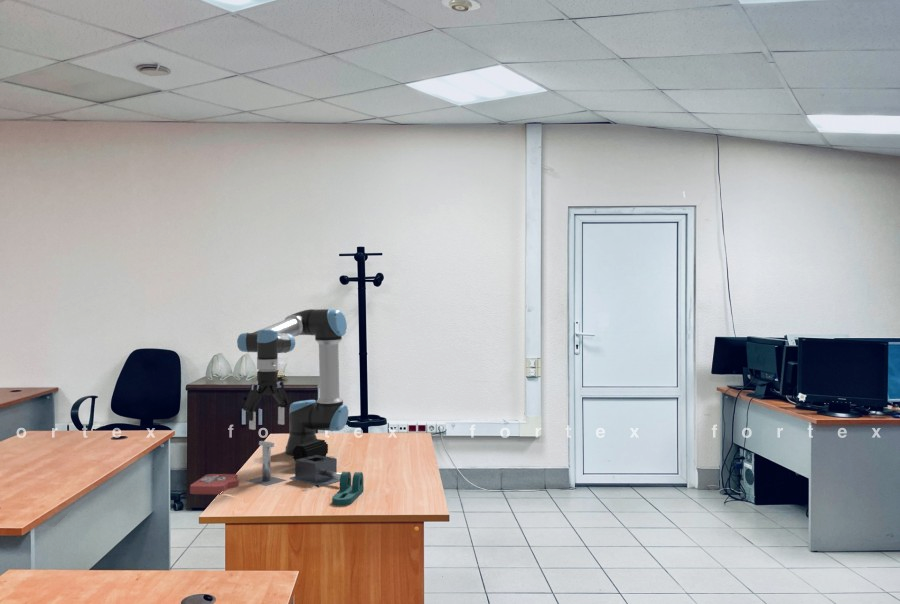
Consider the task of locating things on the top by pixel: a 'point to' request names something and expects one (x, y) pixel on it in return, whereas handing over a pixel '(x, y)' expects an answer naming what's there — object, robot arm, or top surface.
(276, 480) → the mat
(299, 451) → the security camera
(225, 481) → the plaque
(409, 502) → the top surface
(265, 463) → the silver grey long piece
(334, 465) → the hollow square block
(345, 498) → the bracket
